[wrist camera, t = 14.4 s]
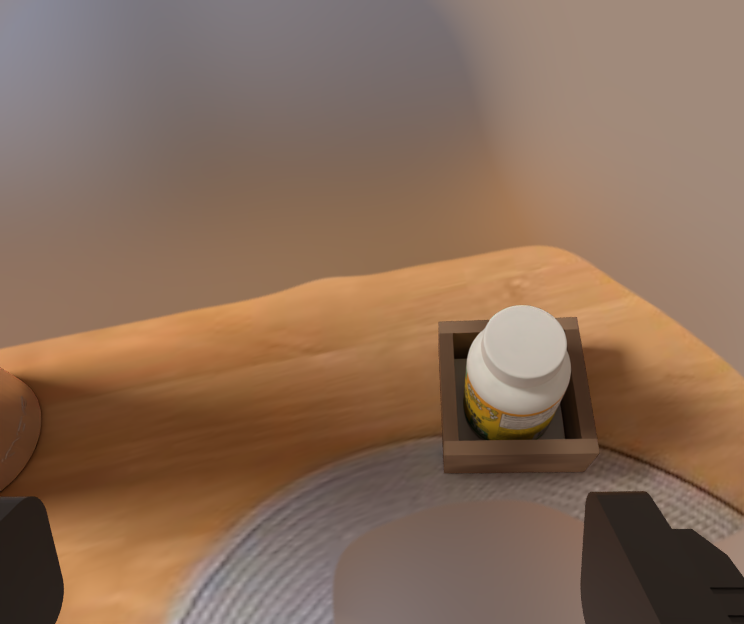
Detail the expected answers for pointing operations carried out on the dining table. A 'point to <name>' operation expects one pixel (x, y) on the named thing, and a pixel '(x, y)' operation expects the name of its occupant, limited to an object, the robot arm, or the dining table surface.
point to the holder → (514, 455)
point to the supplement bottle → (516, 375)
